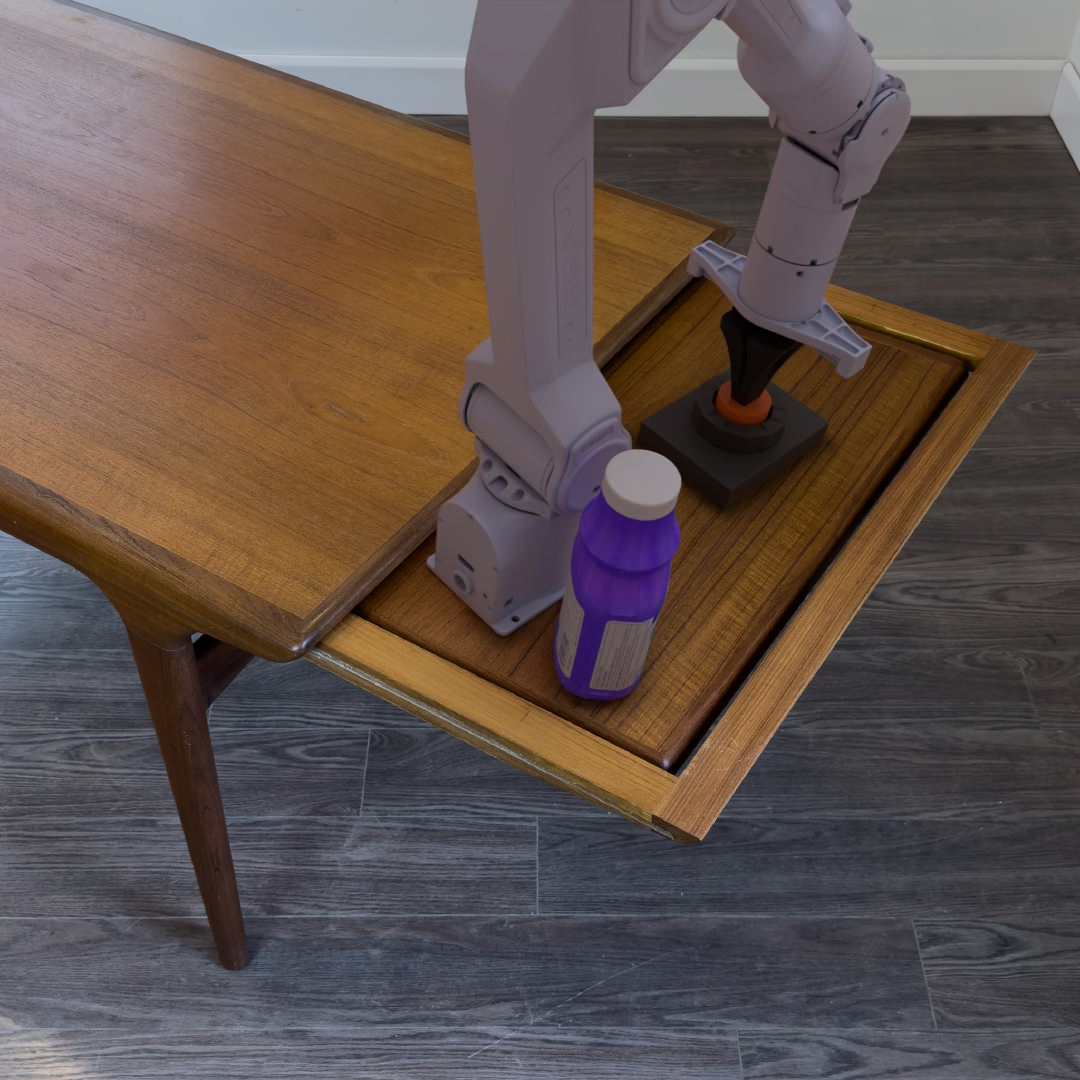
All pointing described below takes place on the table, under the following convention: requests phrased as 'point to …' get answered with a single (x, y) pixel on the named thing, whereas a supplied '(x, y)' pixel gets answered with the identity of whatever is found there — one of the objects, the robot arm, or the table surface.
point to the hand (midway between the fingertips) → (745, 396)
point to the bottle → (618, 576)
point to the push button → (742, 407)
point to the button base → (730, 441)
